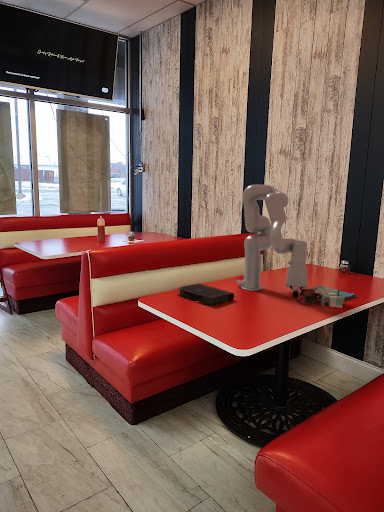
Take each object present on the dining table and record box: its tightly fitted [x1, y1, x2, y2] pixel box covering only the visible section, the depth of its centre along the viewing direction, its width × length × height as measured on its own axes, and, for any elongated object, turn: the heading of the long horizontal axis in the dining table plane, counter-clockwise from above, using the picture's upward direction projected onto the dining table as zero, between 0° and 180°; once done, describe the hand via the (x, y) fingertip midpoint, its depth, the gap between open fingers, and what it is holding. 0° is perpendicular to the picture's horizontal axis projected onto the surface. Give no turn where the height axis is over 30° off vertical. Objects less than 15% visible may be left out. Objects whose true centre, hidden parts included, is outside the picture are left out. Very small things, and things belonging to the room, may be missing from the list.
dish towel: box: [309, 285, 357, 301], centre depth 218 cm, size 17×23×2 cm
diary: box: [177, 282, 235, 307], centre depth 204 cm, size 19×25×5 cm
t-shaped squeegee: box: [318, 288, 345, 307], centre depth 199 cm, size 12×13×8 cm
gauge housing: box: [327, 293, 344, 309], centre depth 199 cm, size 6×10×5 cm, turn 168°
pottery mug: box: [298, 288, 321, 305], centre depth 202 cm, size 12×10×8 cm
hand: (295, 298), depth 204 cm, fingers closed
